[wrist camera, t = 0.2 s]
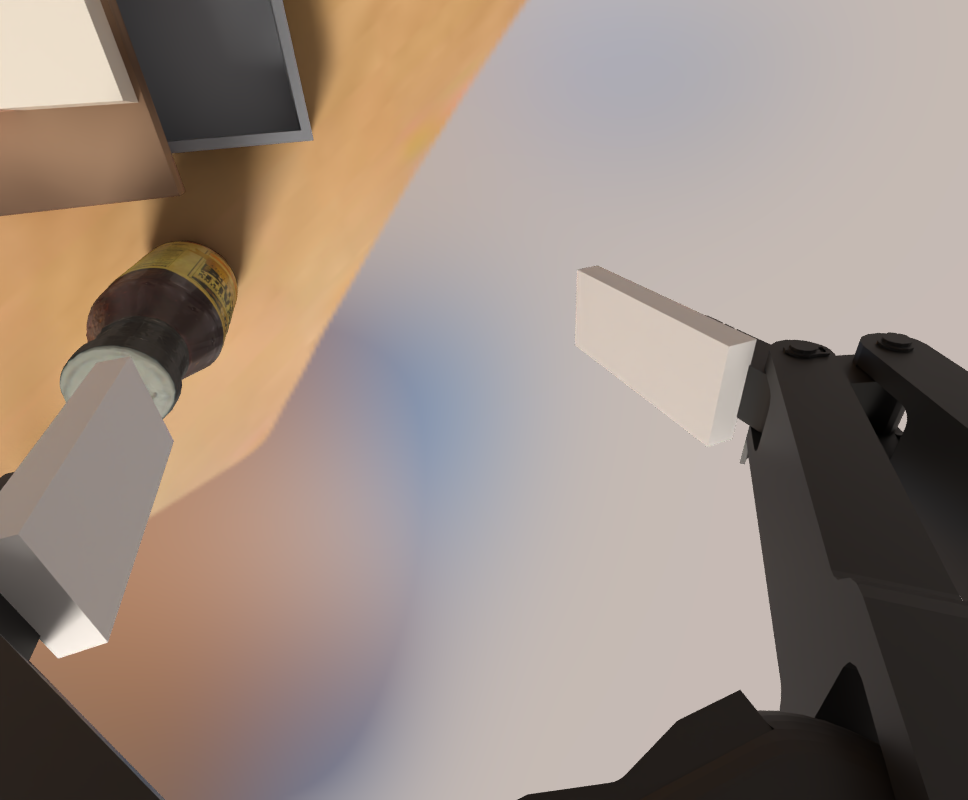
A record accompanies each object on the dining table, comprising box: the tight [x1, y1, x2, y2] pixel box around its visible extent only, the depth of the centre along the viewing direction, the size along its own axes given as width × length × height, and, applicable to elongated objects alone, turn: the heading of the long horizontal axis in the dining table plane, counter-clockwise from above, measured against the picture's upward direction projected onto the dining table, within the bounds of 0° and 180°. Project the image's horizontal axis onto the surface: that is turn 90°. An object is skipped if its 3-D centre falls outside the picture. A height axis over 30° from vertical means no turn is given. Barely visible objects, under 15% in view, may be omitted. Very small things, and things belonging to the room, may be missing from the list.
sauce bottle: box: [60, 241, 238, 419], centre depth 28 cm, size 6×6×20 cm
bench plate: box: [0, 0, 185, 216], centre depth 25 cm, size 14×11×8 cm
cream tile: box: [0, 0, 139, 110], centre depth 22 cm, size 5×5×3 cm
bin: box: [116, 0, 313, 153], centre depth 28 cm, size 12×12×5 cm
